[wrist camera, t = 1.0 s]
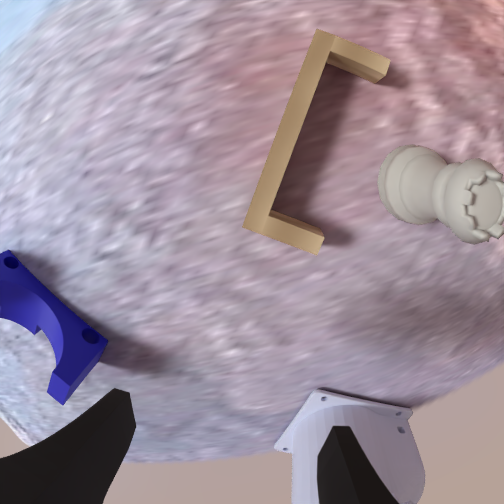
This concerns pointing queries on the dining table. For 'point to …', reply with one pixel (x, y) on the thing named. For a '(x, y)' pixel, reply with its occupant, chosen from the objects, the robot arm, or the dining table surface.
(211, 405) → the dining table surface
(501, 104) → the dining table surface
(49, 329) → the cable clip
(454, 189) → the rook chess piece
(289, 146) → the wooden bracket
